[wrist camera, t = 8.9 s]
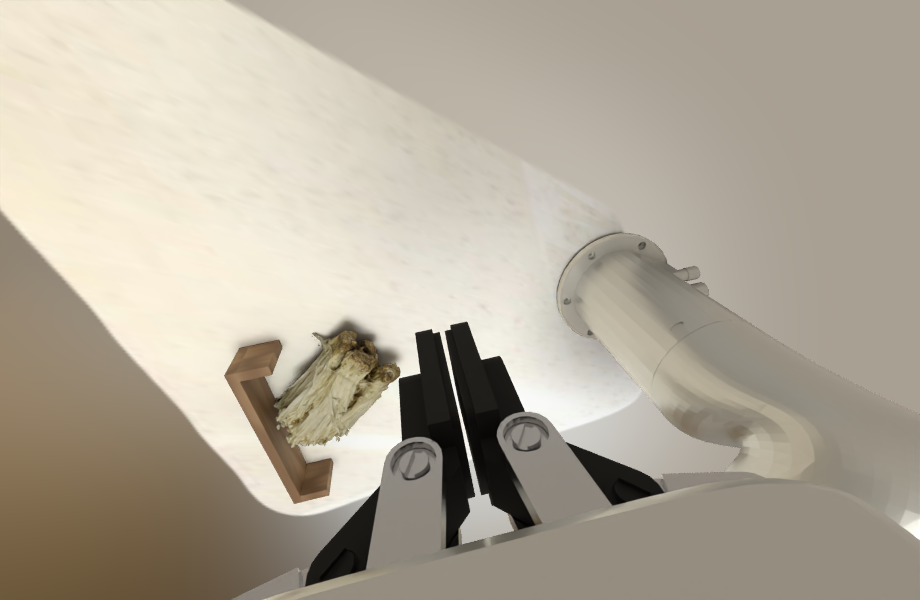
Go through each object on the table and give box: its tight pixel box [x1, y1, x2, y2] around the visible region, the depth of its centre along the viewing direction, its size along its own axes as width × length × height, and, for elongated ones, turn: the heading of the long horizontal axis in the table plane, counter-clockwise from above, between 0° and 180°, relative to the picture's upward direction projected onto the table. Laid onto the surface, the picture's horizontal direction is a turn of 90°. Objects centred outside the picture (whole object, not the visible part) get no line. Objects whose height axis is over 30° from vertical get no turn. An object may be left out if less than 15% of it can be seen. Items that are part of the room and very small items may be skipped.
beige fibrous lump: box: [274, 330, 400, 448], centre depth 43 cm, size 14×10×5 cm, turn 138°
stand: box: [224, 340, 333, 504], centre depth 44 cm, size 4×19×4 cm, turn 8°
